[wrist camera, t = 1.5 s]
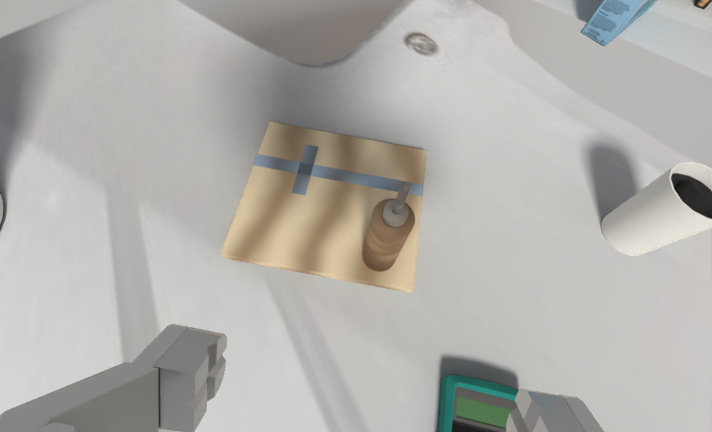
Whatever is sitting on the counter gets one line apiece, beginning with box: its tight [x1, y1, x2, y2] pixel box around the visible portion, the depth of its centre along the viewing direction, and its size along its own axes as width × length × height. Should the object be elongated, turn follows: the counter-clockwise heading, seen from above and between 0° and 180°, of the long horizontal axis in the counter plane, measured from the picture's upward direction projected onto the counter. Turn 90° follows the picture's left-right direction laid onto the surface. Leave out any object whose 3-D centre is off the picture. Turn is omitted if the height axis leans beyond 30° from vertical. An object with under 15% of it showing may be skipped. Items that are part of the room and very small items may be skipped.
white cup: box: [601, 162, 712, 256], centre depth 38 cm, size 7×7×10 cm
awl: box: [362, 182, 415, 272], centre depth 31 cm, size 4×4×14 cm
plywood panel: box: [221, 121, 426, 293], centre depth 41 cm, size 20×18×1 cm
